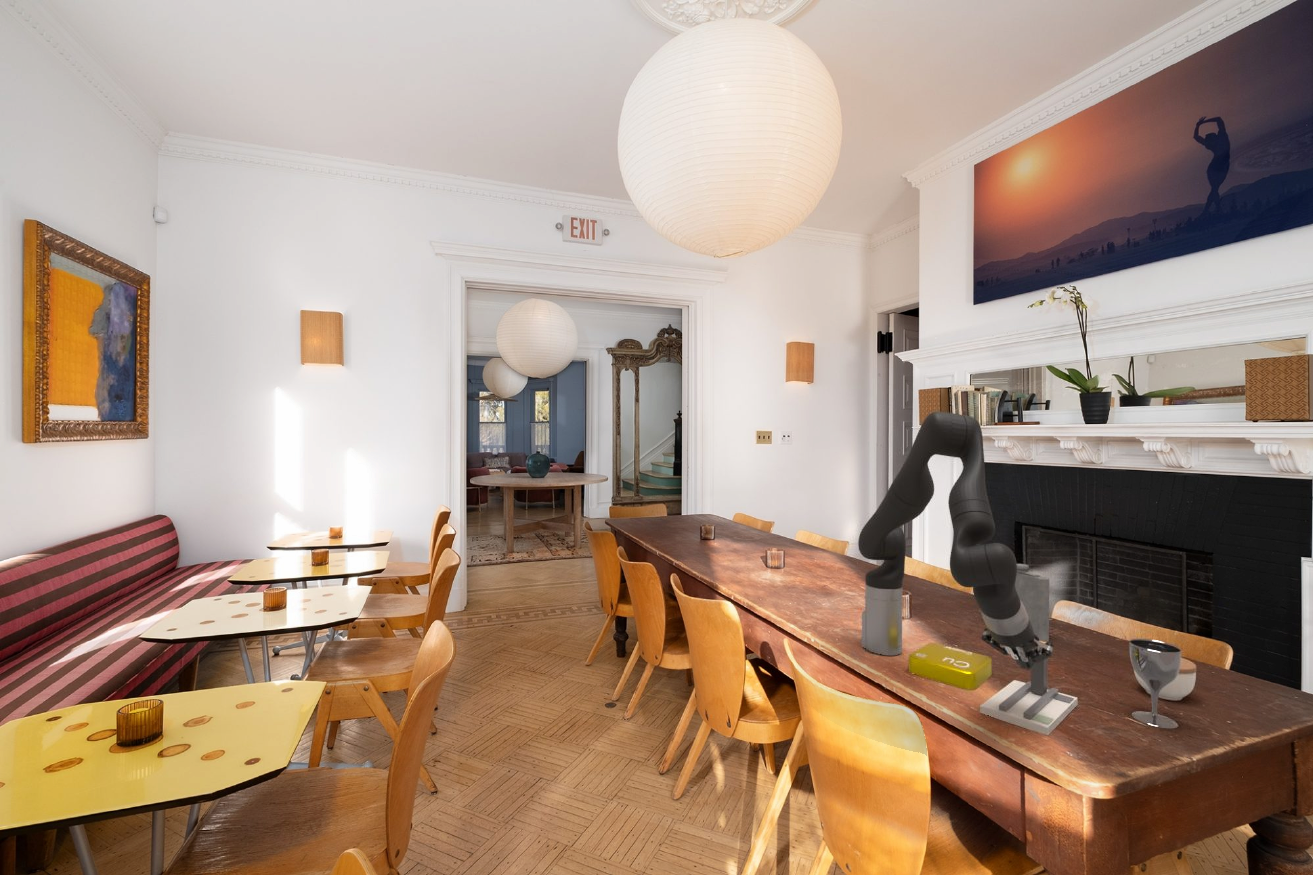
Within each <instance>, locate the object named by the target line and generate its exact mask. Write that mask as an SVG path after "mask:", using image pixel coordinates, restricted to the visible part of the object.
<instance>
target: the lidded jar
mask: <svg viewBox="0 0 1313 875" xmlns="http://www.w3.org/2000/svg"><path fill="white" fill-rule="evenodd" d="M1197 670H1198V669H1197V665H1196V664H1195V662H1192V661H1191V660H1189V659H1187V658H1184V657H1181V665H1180V670H1179V673H1178V675H1177V677H1176V679H1174V680H1173V681H1172V682H1170V683H1169V684H1168V685H1166V686H1165V687H1163V688H1162V689H1161V691H1160V692H1159V695H1158V699H1162V700H1166V701H1167V700H1168V701H1183V700H1182V699H1183V698H1185V697H1186V696H1188V695H1190V693H1191V692H1192V691H1193V690H1194V688H1195V685H1196V684H1195V683H1196V679H1197V678H1196V677H1197V674H1196V673H1197ZM1133 672H1134V675H1135V678H1136V681H1137V682H1138V683H1139V684H1140V686H1141V688H1143V689H1144V690H1145V692H1146V693H1147V694H1149V695H1151V692H1150V690H1149V688H1148V686H1147V684H1146V683H1145V682H1144V681H1143V680H1142V678H1141V677H1140V676H1139V675H1138V674H1137V673H1136V671H1135V670H1134V669H1133Z"/></svg>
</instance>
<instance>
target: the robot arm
mask: <svg viewBox="0 0 1313 875" xmlns="http://www.w3.org/2000/svg"><path fill="white" fill-rule="evenodd" d="M982 431H983V430H982V427H981V424H980V423H979V421H978V419H976V418H975V417H973V416H970V415H965V414H958V413H953V412H947V411H945V412H944V411H932V412H931V413H929V414H928V415H927V416H926V417H925V418H924V420H923V422H922V424H921V426H920V428H919V429H918V432H917V435H916V437H915V439H914V441H913V444H912V446H911V449H910V450H909V453H908V455H907V457H906V459H905V461H904V463H903V464H902V466H901V468H900V470H899V471H898V473H897V474H896V476H895V477H894V479H893V481H892V483H891V484H890V486H889V488H888V490H887V492H886V493H885V495H884V498H883V499H882V501H881V502H880V504H879V506H878V507H877V509H876V510H875V512H874V513H873V514H872V516H871V517H870V518H869V519H868V520H867V521H866V523H865V524H864V526H863V527H862V529H861V531H860V533H859V537H858V543H857V544H858V551H859V553H860V554H861V555H862V557H864V559H867V560H870V561H883V562H882V564H880V566H878V567H876V568H874V569H872V570H870V571H869V570H868V571H867V572H866V574H865V576H864V577H865V578H864V579H865V580H864V582H865V584H864V585H865V586H864V588H865V593H864V596H865V598H864V600H865V601H864V602H865V603H864V604H865V605H864V606H865V609H864V611H862V612H861V648H863V647H864V648H863V649H865V648H866V649H865V650H867V651H868V650H869V651H868V652H870V653H872V652H874V653H873V654H876V653H877V654H876V655H880V654H882V655H881V656H891V657H892V656H898V654H899V655H901V654H902V653H903V581H904V577H905V567H906V566H905V564H906V563H905V562H906V551H907V550H906V549H907V544H906V543H907V542H906V535H905V533H904V530H903V529H902V528H901V527H902V526H904V525H906V524H908V523H910V522H912V521H913V520H915V519H916V518H918V517H919V516H920V515H921V514H922V513H923V512H924V511H925V509H926V508H927V507H928V505H929V503H930V501H932V498H933V497H934V495H935V494H934V493H935V484H934V480H933V476H932V474H931V471H930V468H929V461H930V459H931V458H932V457H933V456H934V455H937V456H944V457H951V458H958V459H960V460H961V463H962V470H961V473H960V475H959V477H958V478H957V480H956V481H955V483H954V484H953V486H952V488H951V490H950V492H949V495H948V510H949V515H950V521H951V524H952V531H953V532H952V536H953V537H952V544H951V550H950V555H949V556H950V557H949V570H950V573H951V574H950V575H951V576H952V578H953V579H954V581H955V582H956V583H957V584H959V585H960V586H961V587H963V588H972V593H973V596H974V599H975V601H976V604H977V606H978V607H979V611H980V614H981V616H982V618H983V622H984V623H985V625H986V627H985V628H984V629H983V632H982V635H981V640H982V642H984V643H986V644H987V645H989V646H990V647H992V648H993V649H995V650H996V651H998V652H999V653H1001V654H1002V655H1004V656H1009V655H1010V656H1011V657H1012V659H1014V660H1015V662H1016V664H1017V666H1019V667H1020V669H1023V670H1028V671H1031V669H1032V668H1033V664H1034V663H1038V662H1040V661H1042V660H1045V659H1047V660H1048V659H1049V658H1050V657H1052V654H1053V650H1054V646H1055V645H1054V644H1053V643H1052V642H1050V641H1049V642H1047V643H1045V644H1044V643H1042V642H1040V641H1039V638H1038V636H1036V635H1035V634H1034V630H1033V627H1032V624H1031V622H1030V619H1029V617H1028V614H1027V612H1026V609H1025V607H1024V605H1023V603H1022V602H1021V600H1020V599H1019V596H1018V594H1017V591H1016V588H1015V582H1016V576H1017V564H1018V563H1017V559H1016V556H1015V553H1014V552H1013V550H1012V549H1011V548H1010V547H1009V546H1007V545H1005V544H1003V543H1000V542H992V543H991V542H990V543H986V544H981V543H984V542H987V541H988V540H989V539H991V538H992V537H993V536H994V535H995V533H996V524H995V521H994V516H993V513H992V510H991V505H990V502H989V497H988V493H987V487H986V486H987V485H986V472H985V471H986V470H985V469H986V468H985V455H984V454H985V453H984V452H985V451H984V450H985V449H984V438H983V432H982ZM978 544H979V545H978ZM1036 647H1037V648H1036ZM1034 648H1035V649H1034ZM1031 650H1033V651H1031Z"/></svg>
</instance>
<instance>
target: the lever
mask: <svg viewBox="0 0 1313 875" xmlns="http://www.w3.org/2000/svg"><path fill="white" fill-rule="evenodd" d="M1040 642H1042V643H1044V644H1045V643H1047V642H1043V641H1040ZM1036 648H1037V647H1036ZM1034 649H1035V648H1034ZM1031 651H1033V650H1031ZM1030 682H1031V692H1033V693H1036V694H1040V695H1044V694H1045V693H1046V692H1047V689H1048V658H1047V659H1045V660H1042V661H1040V662H1038V663H1034V664H1033V668H1032V669H1031V668H1030Z"/></svg>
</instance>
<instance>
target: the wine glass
mask: <svg viewBox="0 0 1313 875" xmlns="http://www.w3.org/2000/svg"><path fill="white" fill-rule="evenodd" d="M1129 656H1130V662H1131V665H1132V668H1133V671H1134V670H1135V671H1136V673H1137V674H1138V675H1139V676H1140V677H1141V678H1142V680H1143V681H1144V682H1145V683H1146V684H1147V686H1148V688H1149V690H1150V692H1151V694H1150V697H1151V712H1150V711H1145V710H1144V711H1143V710H1142V711H1141V710H1140V711H1137V710H1136V711H1133V712H1132V713H1131V717H1133V718H1134V719H1135V720H1136V721H1139V722H1141V723H1143V724H1146V725H1148V726H1151V727H1156V728H1162V729H1172V730H1173V729H1176V728H1178V727H1179V724H1178V723H1177V721H1175V720H1174V719H1172V718H1169V717H1167V716H1165V715H1161V714H1158V700H1159V698H1158V695H1159V692H1160V691H1161V689H1162V688H1163V687H1165V686H1166V685H1168V684H1169V683H1170V682H1172V681H1173V680H1174V679H1176V677H1177V675H1178V673H1179V670H1180V665H1181V658H1182V649H1181V648H1180V647H1178V646H1177V645H1174V644H1172V643H1169V642H1165V641H1160V640H1156V639H1148V638H1132V639H1129Z"/></svg>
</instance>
